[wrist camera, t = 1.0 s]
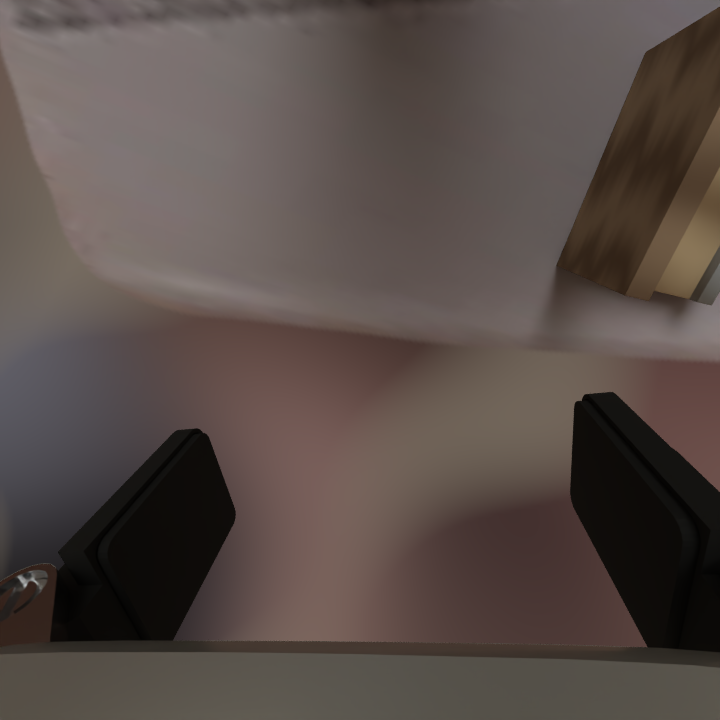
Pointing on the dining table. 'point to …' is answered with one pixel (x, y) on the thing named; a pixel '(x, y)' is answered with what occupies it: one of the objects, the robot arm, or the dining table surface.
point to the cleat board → (659, 179)
